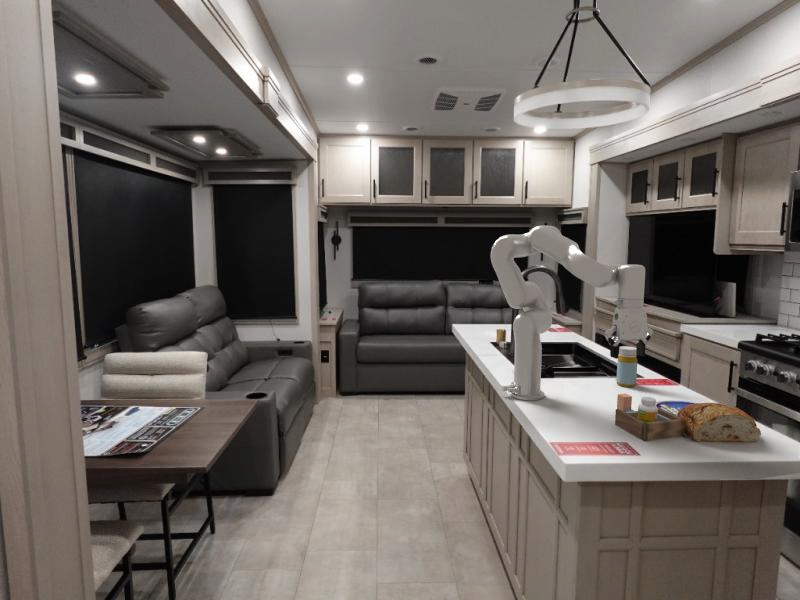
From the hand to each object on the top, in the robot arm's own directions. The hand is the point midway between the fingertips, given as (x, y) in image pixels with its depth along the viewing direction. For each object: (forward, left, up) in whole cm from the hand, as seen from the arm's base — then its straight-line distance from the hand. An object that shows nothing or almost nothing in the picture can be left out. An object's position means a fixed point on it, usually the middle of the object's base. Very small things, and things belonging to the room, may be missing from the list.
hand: (627, 356), depth 157 cm
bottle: (+24, +30, -20) cm, 43 cm away
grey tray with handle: (0, -7, -20) cm, 21 cm away
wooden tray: (0, -10, -20) cm, 23 cm away
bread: (+18, -17, -21) cm, 32 cm away
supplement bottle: (0, -10, -20) cm, 23 cm away
